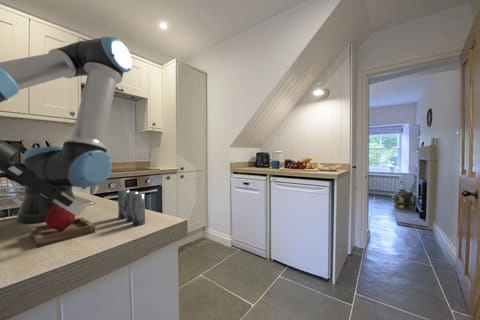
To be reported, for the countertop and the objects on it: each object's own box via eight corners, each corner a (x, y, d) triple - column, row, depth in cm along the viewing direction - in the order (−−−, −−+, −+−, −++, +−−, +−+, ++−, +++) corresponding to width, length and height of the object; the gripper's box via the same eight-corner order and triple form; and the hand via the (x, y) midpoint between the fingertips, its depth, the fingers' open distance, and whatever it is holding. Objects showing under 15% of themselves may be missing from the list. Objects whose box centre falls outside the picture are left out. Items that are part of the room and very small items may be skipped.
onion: (82, 226, 55) (79, 197, 55) (61, 236, 50) (57, 204, 49) (63, 225, 56) (59, 197, 55) (40, 235, 50) (36, 204, 49)
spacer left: (116, 217, 66) (116, 190, 66) (127, 215, 69) (127, 189, 69) (120, 219, 64) (120, 191, 64) (131, 217, 67) (131, 190, 67)
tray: (29, 235, 52) (29, 227, 52) (82, 223, 61) (82, 217, 60) (37, 247, 45) (37, 238, 45) (95, 232, 54) (95, 225, 54)
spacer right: (130, 224, 60) (130, 194, 60) (141, 221, 63) (141, 192, 63) (135, 226, 58) (135, 195, 58) (147, 223, 61) (146, 194, 61)
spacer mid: (124, 220, 64) (124, 192, 64) (135, 217, 67) (135, 190, 66) (129, 222, 62) (129, 193, 62) (140, 219, 64) (140, 192, 64)
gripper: (-37, 162, 48) (50, 211, 60) (-43, 165, 33) (75, 229, 45) (-3, 141, 52) (72, 191, 64) (6, 135, 37) (102, 202, 49)
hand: (73, 207), depth 55 cm, fingers open, 13 cm apart
